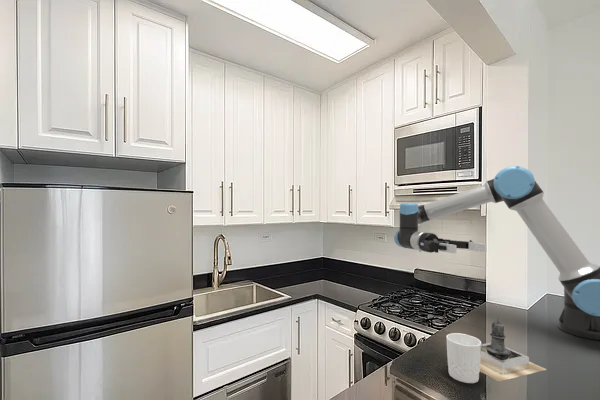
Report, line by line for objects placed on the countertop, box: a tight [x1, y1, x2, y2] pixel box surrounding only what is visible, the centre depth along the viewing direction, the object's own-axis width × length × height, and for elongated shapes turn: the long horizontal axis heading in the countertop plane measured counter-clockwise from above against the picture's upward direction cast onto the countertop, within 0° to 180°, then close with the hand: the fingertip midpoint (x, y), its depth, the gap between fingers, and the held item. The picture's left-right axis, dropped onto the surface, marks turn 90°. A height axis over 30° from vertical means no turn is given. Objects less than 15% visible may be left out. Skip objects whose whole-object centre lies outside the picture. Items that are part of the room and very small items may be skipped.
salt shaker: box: [486, 318, 510, 360], centre depth 87 cm, size 6×6×12 cm
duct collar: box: [480, 342, 530, 375], centre depth 87 cm, size 10×10×3 cm
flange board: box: [479, 361, 547, 383], centre depth 87 cm, size 18×14×1 cm
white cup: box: [445, 332, 482, 384], centre depth 80 cm, size 8×8×10 cm
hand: (471, 248), depth 105 cm, fingers open, 13 cm apart
